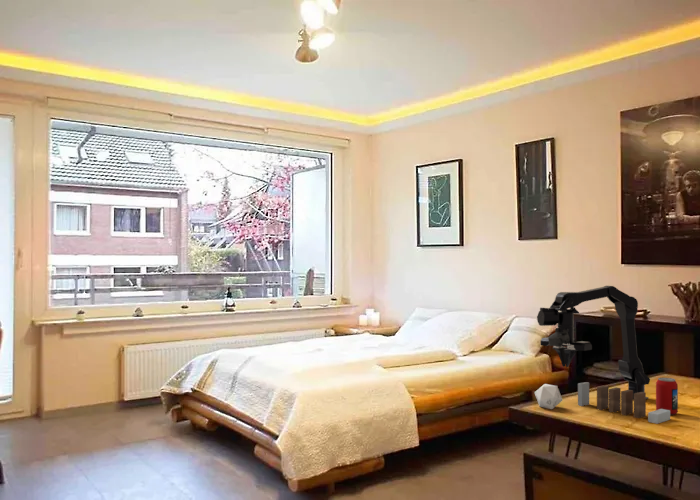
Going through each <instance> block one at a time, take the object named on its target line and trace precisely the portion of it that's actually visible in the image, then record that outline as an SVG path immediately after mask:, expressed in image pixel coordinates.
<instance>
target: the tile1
mask: <svg viewBox="0 0 700 500" xmlns="http://www.w3.org/2000/svg"><path fill="white" fill-rule="evenodd" d="M609 389H610V388H609V385H600V386H596V410H597V409H599V410H598V411H604V410H606V409H607V408H608V409H609ZM603 409H604V410H603ZM608 409H607V410H608Z"/></svg>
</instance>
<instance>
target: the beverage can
mask: <svg viewBox="0 0 700 500" xmlns="http://www.w3.org/2000/svg"><path fill="white" fill-rule="evenodd" d="M678 387H679V386H678V383H677V381H676V379H675V378H672V377H658V378H657V380H656V382H655V410H659V409H665V410H670V416H674V415H676V414H678V413H679V410H678V409H679V407H678V406H679V405H678V404H679V396H678V395H679V394H678V393H679V392H678V391H679V389H678Z"/></svg>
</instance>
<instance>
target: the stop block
mask: <svg viewBox="0 0 700 500" xmlns="http://www.w3.org/2000/svg"><path fill="white" fill-rule="evenodd" d="M647 414H648V415H647V417H648V418H647V421H648V422H649V423H653V424H656V425H657V424H660V423H664V422H667V421H669V420H671V415H670V410H665V409H659V410H656V409H655V410H652V411H649V412H647Z"/></svg>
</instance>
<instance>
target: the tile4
mask: <svg viewBox="0 0 700 500" xmlns="http://www.w3.org/2000/svg"><path fill="white" fill-rule="evenodd" d="M646 397H647V396H646V392H638V393H634V399H633V418H636V419H640V418H644V417H646V416H647V414H646V409H647V407H646V405H647V403H646V402H647V399H646Z"/></svg>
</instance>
